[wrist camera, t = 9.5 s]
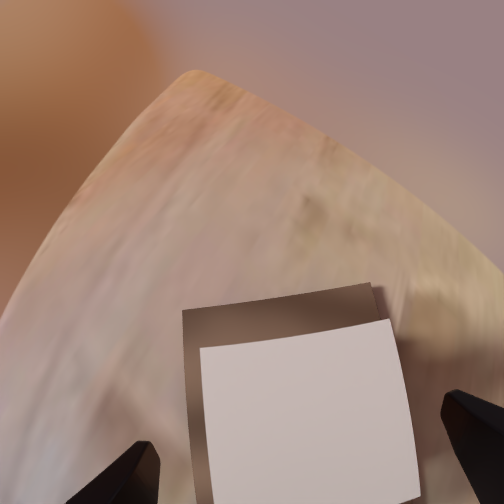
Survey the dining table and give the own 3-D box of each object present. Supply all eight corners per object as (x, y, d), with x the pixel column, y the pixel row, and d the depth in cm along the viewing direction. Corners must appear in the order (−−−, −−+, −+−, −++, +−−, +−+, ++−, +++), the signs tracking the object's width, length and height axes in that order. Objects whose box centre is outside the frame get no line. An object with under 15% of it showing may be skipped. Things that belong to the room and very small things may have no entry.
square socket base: (408, 519, 12) (433, 536, 8) (209, 550, 12) (191, 574, 9) (366, 288, 20) (381, 258, 17) (186, 315, 21) (166, 290, 17)
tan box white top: (343, 457, 14) (420, 495, 5) (259, 470, 14) (217, 532, 5) (331, 381, 17) (389, 318, 7) (250, 393, 17) (199, 347, 7)
